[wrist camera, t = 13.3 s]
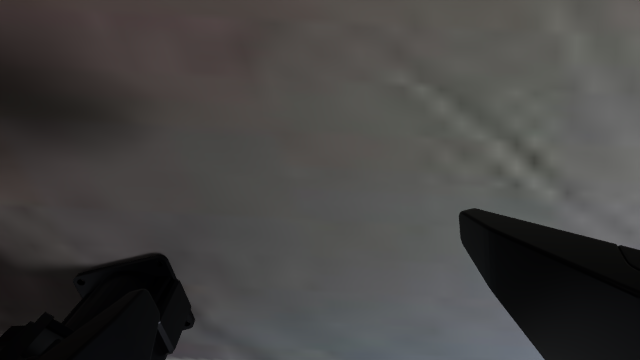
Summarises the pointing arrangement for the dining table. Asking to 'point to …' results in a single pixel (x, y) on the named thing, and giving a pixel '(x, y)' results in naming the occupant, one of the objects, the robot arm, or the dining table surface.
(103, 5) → the dining table surface
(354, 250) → the dining table surface
